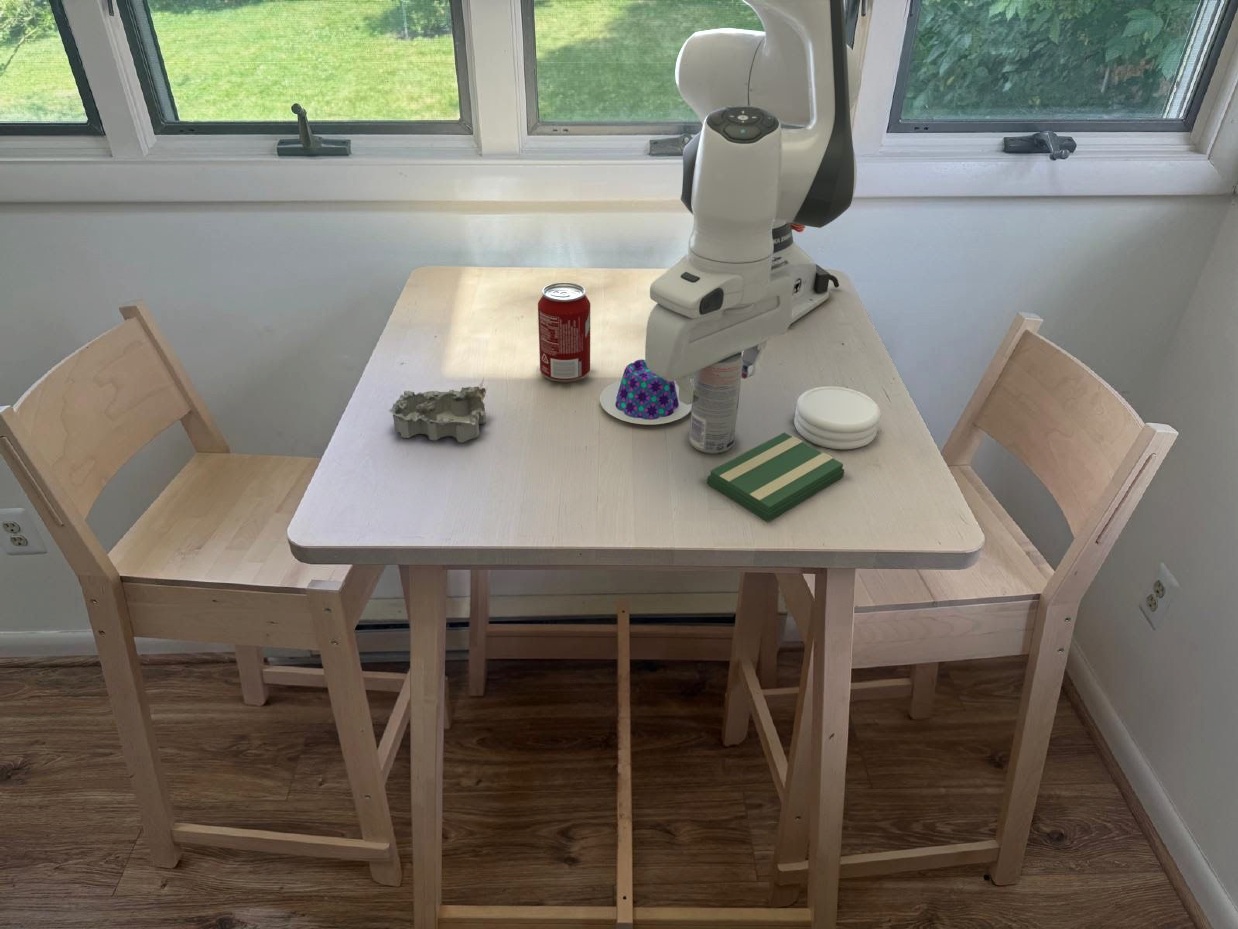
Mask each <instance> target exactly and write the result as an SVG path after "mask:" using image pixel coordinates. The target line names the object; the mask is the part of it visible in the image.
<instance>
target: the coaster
mask: <svg viewBox="0 0 1238 929" xmlns="http://www.w3.org/2000/svg"><path fill="white" fill-rule="evenodd" d="M794 413H795V415H794V418H793V423H794V427H795V430H796V431H797V433H798V434H799V435H800V436H802V437H803V439H805V440H806V441H808V442H810V443H812V444H814V445H817V446H819V447H823V448H827V449H832V450H853V449H860V448H862V447H865V446H867V445H869V444H870V443H872V442H873V441H874V439H875V438H876V436H877V434H878V429H879V425H880V422H879V421H880V420H881V409H880V407H879V405H878V403H876V402H875V400H873V399H872V398H871V397H869V396H868V395H866V394H864V393H863V392H860V391H858V390H855V389H851V388H847V387H842V386H830V385H829V386H819V387H814V388H811V389H809V390H806V391H805V392H803V393H802V394H800V396H799V397H798V399H797V400H796V408H795V412H794Z"/></svg>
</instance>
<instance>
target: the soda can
mask: <svg viewBox="0 0 1238 929" xmlns="http://www.w3.org/2000/svg"><path fill="white" fill-rule="evenodd" d="M541 292H542V293H541V294H542V296H541V297H540V298H539V300H538V301H537V318H538V319H537V322H538V349H539V350H538V351H539V352H538V353H539V354H538V355H539V372H540V374H541V375H542V376H543V377H545V378H546V379H548V380H551V381H553V382H556V383H561V384H562V383H563V384H564V383H567V384H569V383H573V382H577V381H580V380H581V379H584V378H585V377H587V376H588V375H589V374H590V372H591V301H590V300H589V298H588V296H587V295H586V288H584V286H582V285H580V284H578V283H575V282H566V281H565V282H563V281H560V282H553V283H550V284H547V285H546V286H544V287H543V288H542V291H541Z"/></svg>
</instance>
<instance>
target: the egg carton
mask: <svg viewBox="0 0 1238 929" xmlns="http://www.w3.org/2000/svg"><path fill="white" fill-rule="evenodd" d="M486 393H487V390H486V388H485V387H478V386H473V387H472V386H465V387H461V389H460V391H459V390H454V389H450V390H449V391H438V390H431V391H425V392H417V393H415V392H414V391H412V390H404V393H403V394H400V395H399V398H398V399H397V400H396V402H395V403H393V405H392V406H391V408H390V409H389V410H388V412H389V413H391V414H392V418H393V425H394V430H395V432H398V433H399V434H400V436H401V438H402V439H410V438H412V437H413V436H416V435H418V434H420V435H426V436H428V440H430V441H438V440H440V439H441V438H444V437H454V438H455V439H456V442H457V443H465V442H467V441H470V440H472V439H476V438H478V437H479V435H480V425H481V424H482V425H483V424H485V422H486V421H487V418H486V417H487V416H486V407H485V406H486V405H485V402H484V399H485V397H486Z"/></svg>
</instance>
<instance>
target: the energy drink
mask: <svg viewBox="0 0 1238 929" xmlns="http://www.w3.org/2000/svg"><path fill="white" fill-rule="evenodd" d="M742 356H743V353H742V352H740V353H738V354H735V355H733V356H731V357H728V358H726V359H724V360H721V361H719V362H717V363H714V364H712V365H710V366H707V367H705V368H703V369H700V370H698V371H696V372H695V375H694V379H693V384H692V385H693V386H696V387H698V388H699V395H698V397H699V399H698V401H696V402H694V403H692V408H691V411H690V422H689V423H690V424H689V434H688V441H689V443H690V445H691V446H692V447H693V448H694V449H695V450H697V451H699V452H700V453H704V454H709V455H718V454H723V453H726V452H728V451H729V450H730V449H731V448H732V447H733V446H734V444H735V436H736V428H737V419H738V410H739V409H738V408H739V400H740V392H741V385H742V384H741V383H742V377H741V375H742V367H743V359H742Z"/></svg>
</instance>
